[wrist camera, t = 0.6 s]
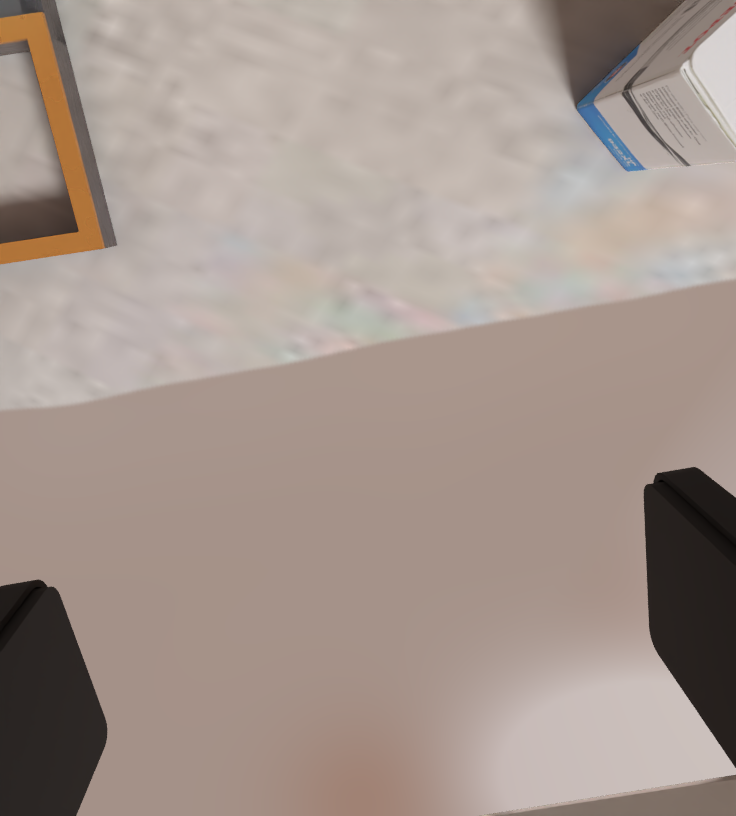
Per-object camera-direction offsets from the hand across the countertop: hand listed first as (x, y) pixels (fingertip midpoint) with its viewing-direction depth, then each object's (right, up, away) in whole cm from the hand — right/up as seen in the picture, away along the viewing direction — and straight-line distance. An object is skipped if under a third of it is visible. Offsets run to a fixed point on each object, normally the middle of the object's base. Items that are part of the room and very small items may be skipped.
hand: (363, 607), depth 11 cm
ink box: (+16, +21, +26) cm, 36 cm away
